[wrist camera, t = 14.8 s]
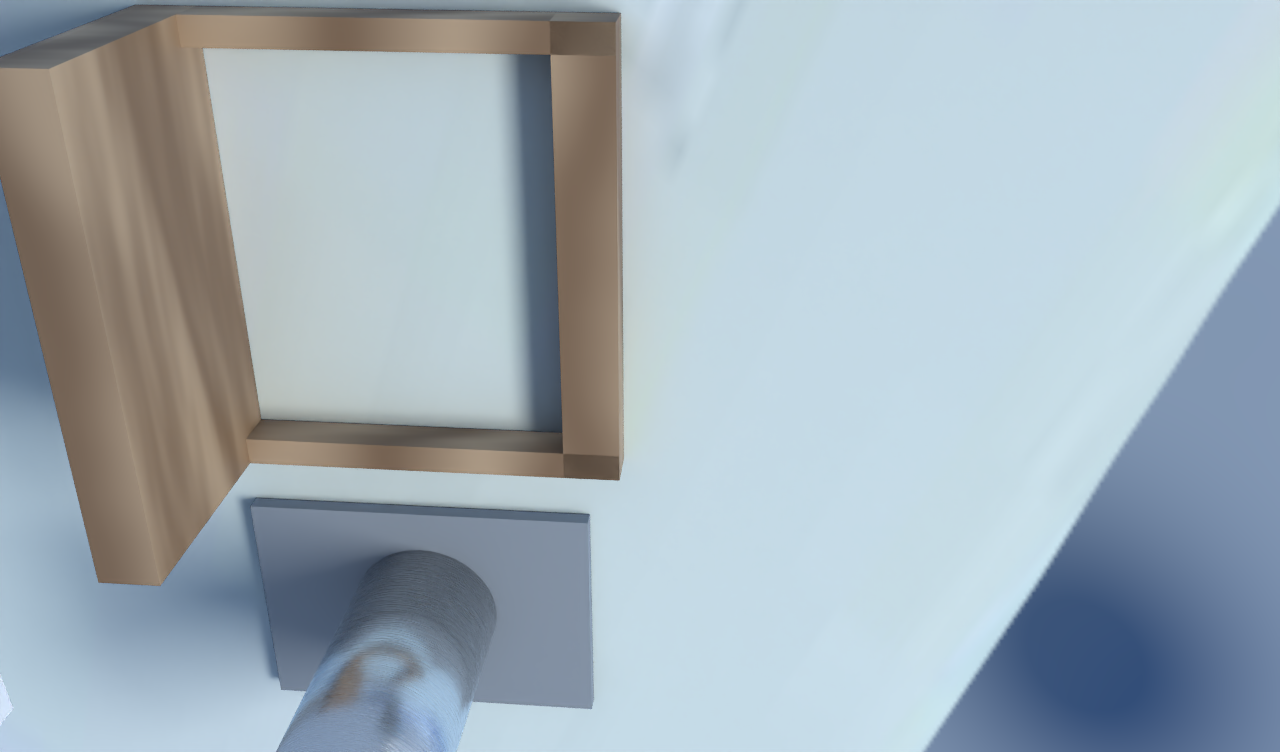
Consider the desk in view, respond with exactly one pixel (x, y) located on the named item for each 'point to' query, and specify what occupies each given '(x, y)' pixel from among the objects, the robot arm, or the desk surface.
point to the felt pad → (479, 538)
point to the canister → (400, 661)
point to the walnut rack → (207, 271)
